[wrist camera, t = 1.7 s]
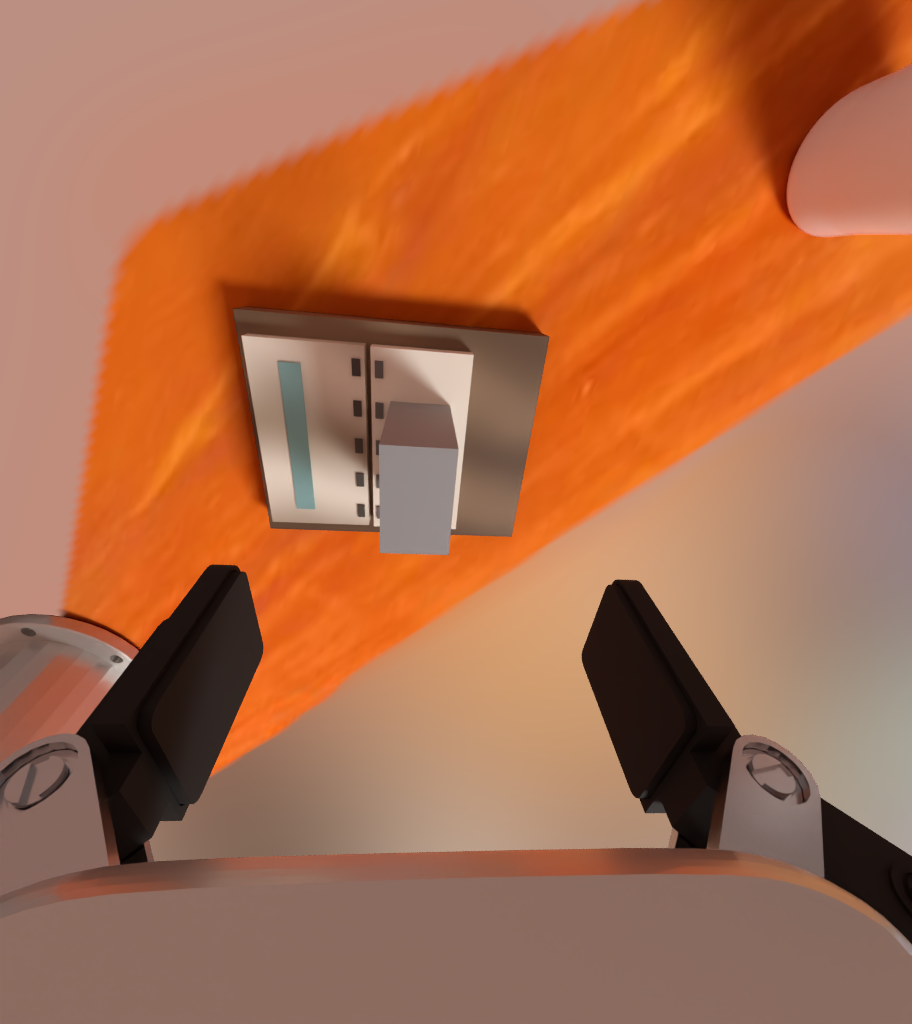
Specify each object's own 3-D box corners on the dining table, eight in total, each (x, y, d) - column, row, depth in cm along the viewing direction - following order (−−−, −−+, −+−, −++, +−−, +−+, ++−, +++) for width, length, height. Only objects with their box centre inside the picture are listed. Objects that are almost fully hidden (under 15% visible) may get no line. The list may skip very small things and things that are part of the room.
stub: (454, 522, 25) (464, 597, 19) (375, 519, 24) (359, 595, 19) (471, 352, 20) (491, 383, 14) (372, 344, 19) (349, 373, 14)
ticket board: (507, 524, 27) (514, 544, 25) (278, 515, 26) (265, 536, 24) (541, 333, 21) (554, 339, 19) (245, 306, 20) (224, 310, 18)
